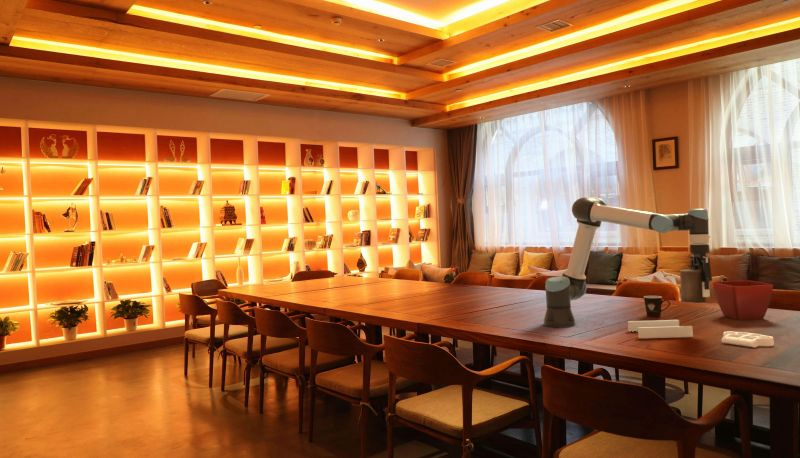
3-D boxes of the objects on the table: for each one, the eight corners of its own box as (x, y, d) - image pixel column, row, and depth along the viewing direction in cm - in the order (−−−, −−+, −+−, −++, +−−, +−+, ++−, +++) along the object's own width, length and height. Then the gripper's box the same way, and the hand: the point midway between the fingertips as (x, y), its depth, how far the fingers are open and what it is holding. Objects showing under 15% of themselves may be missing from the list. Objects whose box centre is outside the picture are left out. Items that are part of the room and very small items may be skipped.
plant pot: (776, 319, 261) (774, 284, 261) (735, 321, 261) (733, 286, 261) (751, 313, 280) (749, 280, 280) (713, 315, 280) (711, 281, 280)
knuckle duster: (713, 343, 224) (731, 337, 232) (762, 350, 209) (779, 344, 217) (713, 335, 224) (730, 329, 232) (762, 341, 209) (779, 335, 217)
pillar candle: (709, 302, 236) (707, 267, 236) (684, 302, 239) (683, 268, 238) (702, 299, 246) (701, 266, 246) (678, 299, 248) (677, 266, 248)
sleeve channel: (639, 338, 237) (638, 327, 237) (628, 331, 253) (627, 321, 252) (692, 336, 235) (692, 326, 235) (678, 329, 250) (677, 319, 250)
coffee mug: (640, 316, 287) (640, 297, 287) (652, 314, 290) (651, 295, 290) (659, 319, 276) (658, 299, 276) (671, 317, 280) (671, 297, 280)
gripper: (720, 244, 230) (722, 298, 231) (697, 242, 252) (699, 291, 252) (701, 245, 231) (703, 299, 232) (680, 243, 253) (682, 292, 253)
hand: (701, 295), depth 242 cm, fingers closed on pillar candle, 9 cm apart
